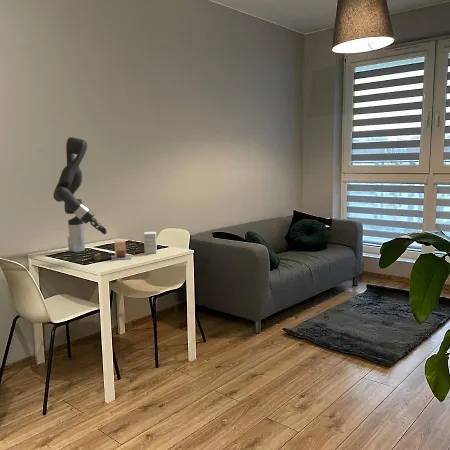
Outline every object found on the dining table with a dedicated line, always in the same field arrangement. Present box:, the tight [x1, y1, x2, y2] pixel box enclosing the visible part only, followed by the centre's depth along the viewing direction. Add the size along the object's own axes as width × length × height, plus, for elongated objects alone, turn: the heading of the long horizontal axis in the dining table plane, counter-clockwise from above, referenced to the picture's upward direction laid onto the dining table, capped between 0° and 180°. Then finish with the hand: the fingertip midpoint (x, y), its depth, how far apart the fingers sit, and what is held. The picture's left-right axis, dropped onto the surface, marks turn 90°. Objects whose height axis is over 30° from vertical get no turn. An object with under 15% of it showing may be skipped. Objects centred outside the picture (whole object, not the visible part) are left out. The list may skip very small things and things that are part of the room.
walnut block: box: [94, 253, 102, 261], centre depth 266 cm, size 3×3×3 cm
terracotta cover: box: [114, 239, 127, 258], centre depth 269 cm, size 6×6×10 cm
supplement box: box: [143, 231, 158, 255], centre depth 283 cm, size 7×7×13 cm
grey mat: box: [110, 254, 132, 262], centre depth 270 cm, size 11×11×1 cm
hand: (105, 232), depth 265 cm, fingers open, 8 cm apart
